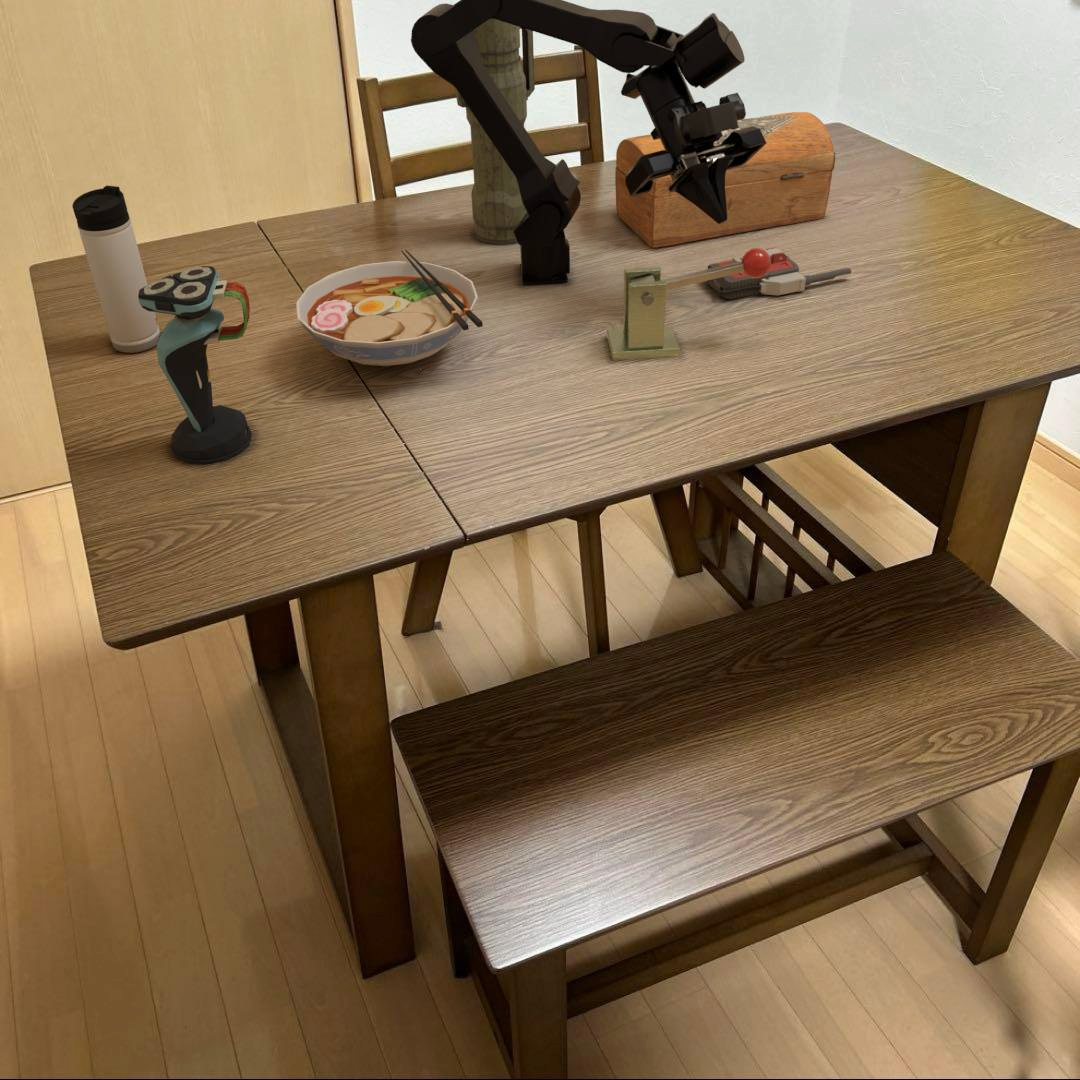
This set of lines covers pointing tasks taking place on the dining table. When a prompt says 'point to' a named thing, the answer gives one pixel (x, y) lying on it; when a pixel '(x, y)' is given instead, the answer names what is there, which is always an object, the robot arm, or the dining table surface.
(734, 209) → the wooden box
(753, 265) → the switch lever
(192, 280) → the electric shaver
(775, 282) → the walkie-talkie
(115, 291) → the travel mug
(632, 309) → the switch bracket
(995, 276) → the dining table surface
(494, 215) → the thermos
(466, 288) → the ramen bowl
